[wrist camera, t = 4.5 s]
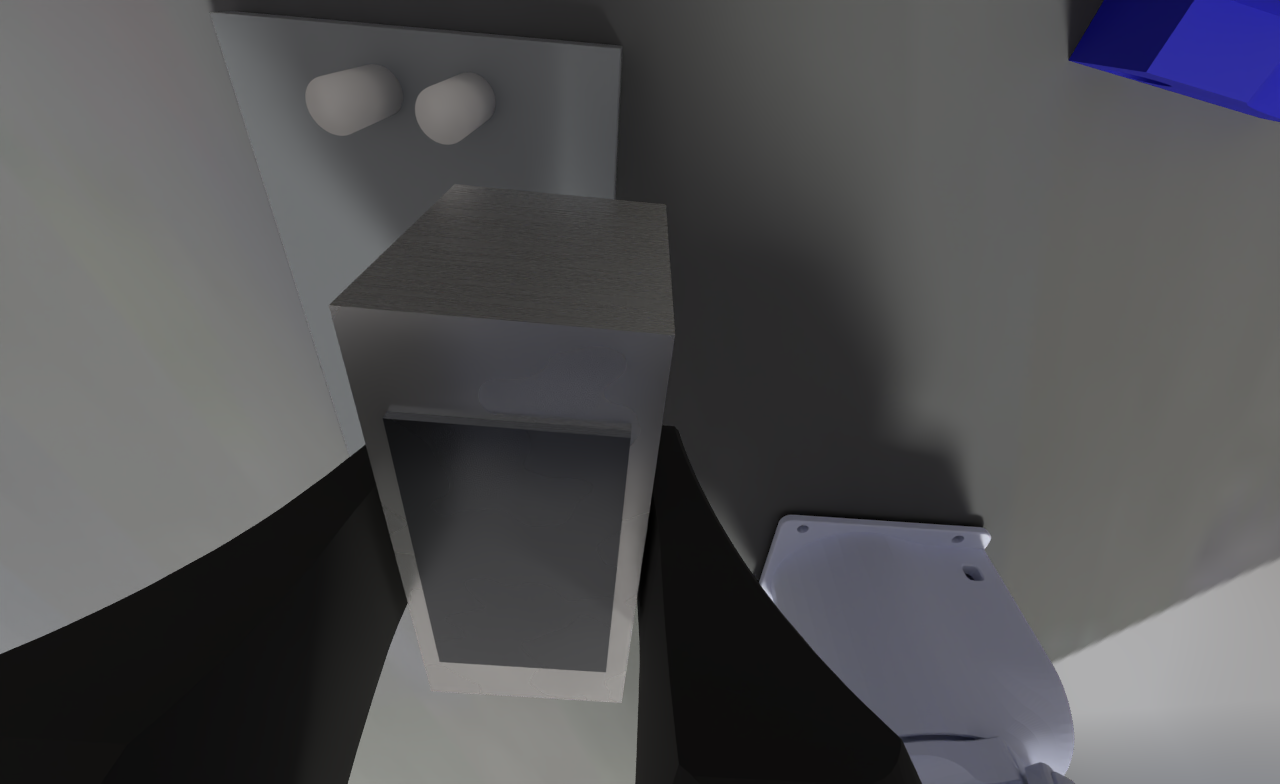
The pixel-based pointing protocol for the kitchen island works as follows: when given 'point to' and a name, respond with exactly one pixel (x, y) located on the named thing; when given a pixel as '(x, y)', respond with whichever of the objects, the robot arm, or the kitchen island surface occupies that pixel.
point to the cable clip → (1192, 49)
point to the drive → (516, 429)
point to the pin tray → (405, 138)
